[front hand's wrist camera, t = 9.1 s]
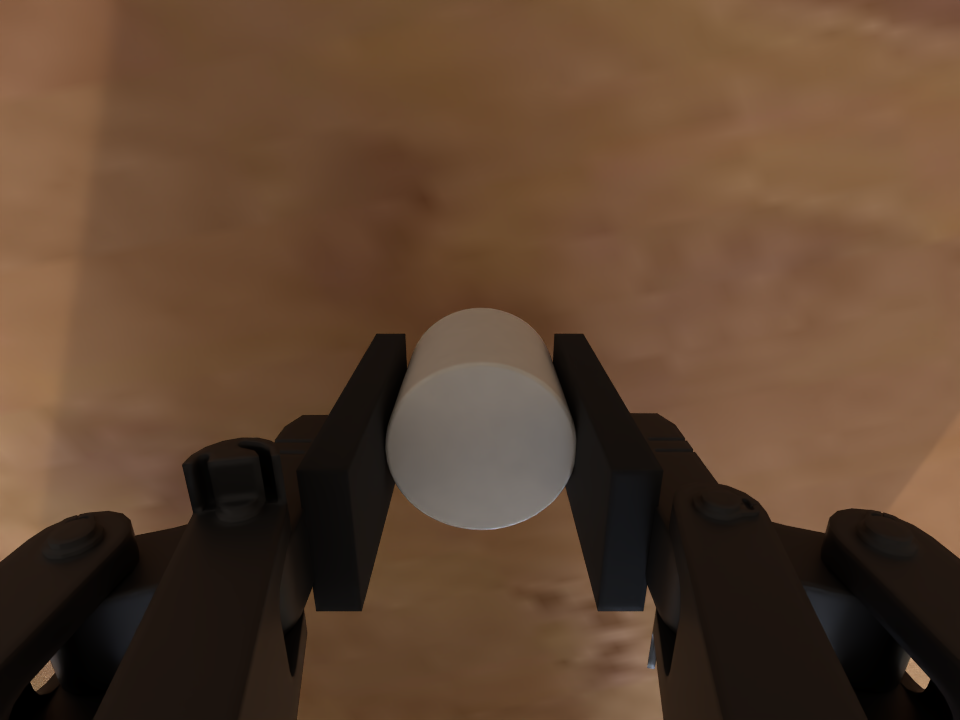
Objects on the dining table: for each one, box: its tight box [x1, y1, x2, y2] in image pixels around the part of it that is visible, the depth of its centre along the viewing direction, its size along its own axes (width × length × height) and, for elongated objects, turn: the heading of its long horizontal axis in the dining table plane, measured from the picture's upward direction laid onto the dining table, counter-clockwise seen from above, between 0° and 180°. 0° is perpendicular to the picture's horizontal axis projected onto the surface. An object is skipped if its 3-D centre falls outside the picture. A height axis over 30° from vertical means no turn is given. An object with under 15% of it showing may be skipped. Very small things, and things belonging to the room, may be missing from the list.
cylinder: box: [385, 308, 576, 530], centre depth 13 cm, size 4×4×4 cm
